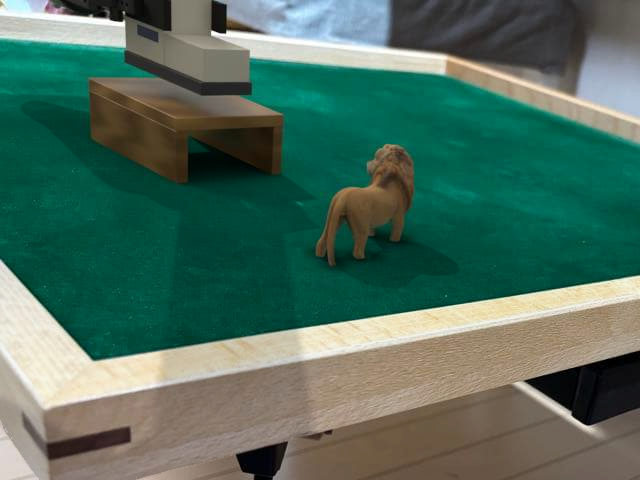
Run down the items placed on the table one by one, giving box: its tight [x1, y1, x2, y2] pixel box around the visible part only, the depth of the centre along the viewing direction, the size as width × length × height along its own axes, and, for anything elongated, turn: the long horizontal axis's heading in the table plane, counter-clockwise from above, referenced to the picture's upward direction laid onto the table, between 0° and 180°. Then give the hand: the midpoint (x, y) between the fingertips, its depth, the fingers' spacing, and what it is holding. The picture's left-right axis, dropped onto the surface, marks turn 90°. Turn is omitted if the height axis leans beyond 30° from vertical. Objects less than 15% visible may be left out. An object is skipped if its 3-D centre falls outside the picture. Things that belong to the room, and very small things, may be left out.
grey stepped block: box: [123, 0, 253, 96], centre depth 85 cm, size 13×6×8 cm, turn 52°
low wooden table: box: [87, 77, 285, 184], centre depth 89 cm, size 15×12×7 cm
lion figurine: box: [315, 143, 415, 267], centre depth 76 cm, size 15×5×9 cm, turn 169°
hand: (196, 17), depth 83 cm, fingers closed on grey stepped block, 5 cm apart
